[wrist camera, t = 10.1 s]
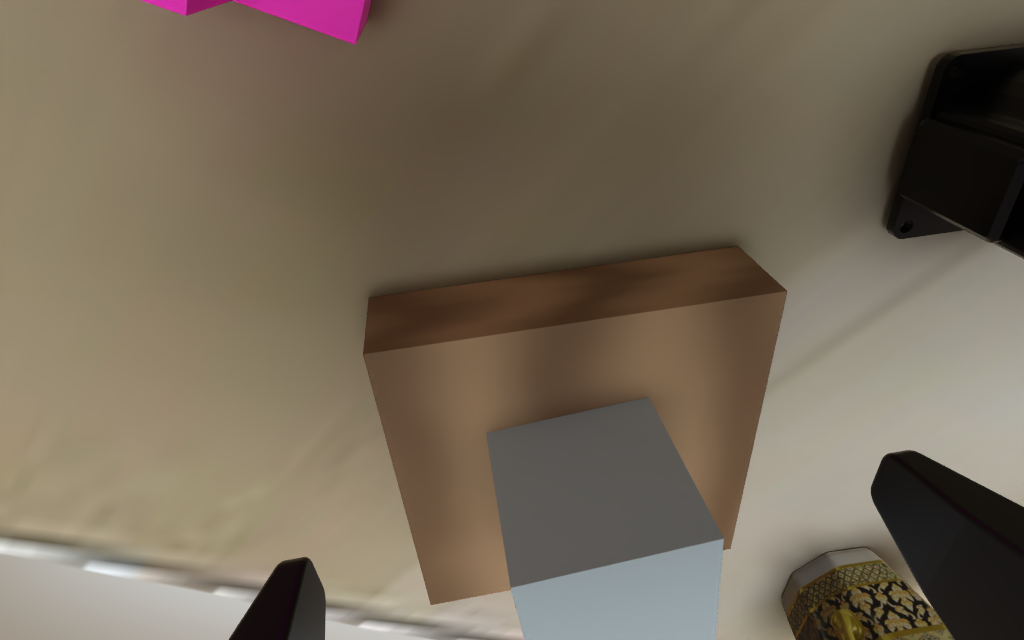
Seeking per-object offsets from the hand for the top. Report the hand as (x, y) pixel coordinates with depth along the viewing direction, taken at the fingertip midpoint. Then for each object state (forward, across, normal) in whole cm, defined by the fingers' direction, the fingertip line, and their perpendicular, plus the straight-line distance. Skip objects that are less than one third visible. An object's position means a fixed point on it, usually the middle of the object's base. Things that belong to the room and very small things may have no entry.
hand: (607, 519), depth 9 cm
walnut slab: (+14, -2, +10) cm, 17 cm away
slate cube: (+10, -2, +10) cm, 14 cm away
